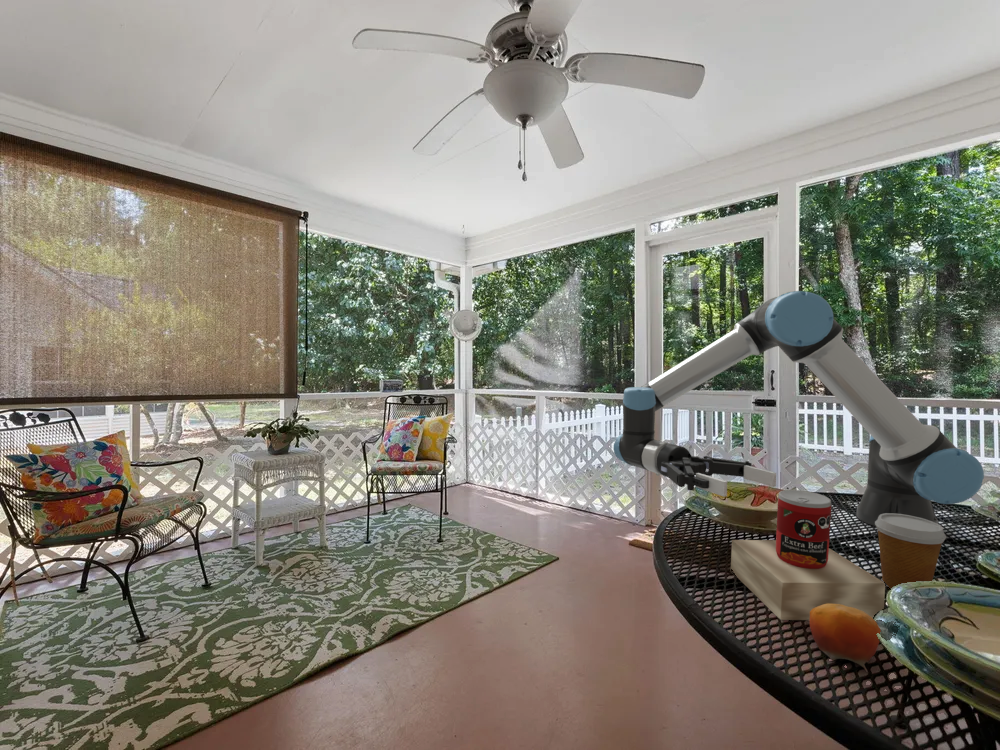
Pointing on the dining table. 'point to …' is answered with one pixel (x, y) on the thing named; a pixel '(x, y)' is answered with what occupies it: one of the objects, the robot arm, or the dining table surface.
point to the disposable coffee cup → (908, 548)
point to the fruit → (844, 632)
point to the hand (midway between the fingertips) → (751, 484)
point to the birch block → (803, 581)
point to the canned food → (803, 528)
